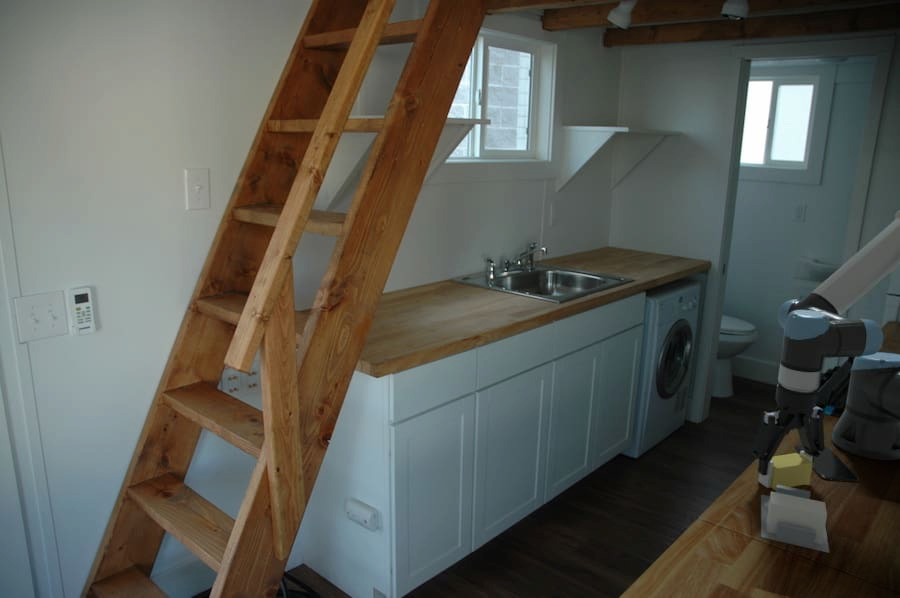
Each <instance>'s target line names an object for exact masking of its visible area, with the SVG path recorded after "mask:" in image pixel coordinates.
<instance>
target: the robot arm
mask: <svg viewBox="0 0 900 598" xmlns="http://www.w3.org/2000/svg"><path fill="white" fill-rule="evenodd" d="M899 266H900V209H899V210H897V211H896V213H895V214H894V220H893V221H892V222H891V223H890V224H888V226H886V227H885V228H884V229H882V231H880V232H879V233H878V234H877V235H876V236H875V237H874V238H873V239H871V240H870V241H868V242H867V244H865V245H864V246H863V248H860V250H858V251H857V252H856V253H855V254H854V255H853V256H851V257H850V258H849V259H848V260H847V261H846V262H845V263H844V264H843V265H842V266H840V267H839V268H838V269H837V270H836V271H834V272H833V273H832V274H831V275H830V276H828V278H827V279H825V280H824V281H823V282H822V283H820V285H818V286H817V287H816V288H815V289H814V290H813V291H811V292H810V293H809V295H807V296H806V297H804V299H796V298H795V299H790V300H786V301H785V302H784V303H782V305H780V308H778V309H779V310H778V312H777V321H778V322H777V323H778V324H779V326H780V327H781V328H782V329H783V339H782V348H781V357H780V363H779V370H778V376H777V377H778V378H777V381H778V383H777V385H776V389H775V401H776V408H775V409H774V411H773V412H767V411H763V412H762V413H761V423H760V426H759V429H758V432H757V435H756V438H755V440H754V443H753V446H752V449H751V453H750V454H751V455H752V456H753V457H754V458H756V459H757V460H758V466H757V472H758V481H757V482H759V483H760V484H761V485H763V487H766V488H767V489H769V488H771V480H772V473H773V466H774V462H773V461H771V459H772V457H773V456H775V454H776V452H777V451H778V448H779V447H780V445H781V443H782V441H783V440H784V438H785V437H786V436H787V435H789V434H790V432H791V431H793V430H797V432H798V436H799V439H800V441H801V445H803V448H804V450H805V452H804V451H800V453H799V455H801V456H802V457H804V458H805V459H807V460H809V461H811V462H813V463H814V457H819V456H820V453H819V452H818V451H821V452H822V451H824V449H825V447H826V446H825V433H824V432H825V431H824V417H825V415H826V410H825V409H823V408H821V407H819V406H817V401H818V395H819V390H818V389H819V388H820V383H821V375H822V369H823V365H824V360H825V359H829V358H830V359H831V358H851V357H852V358H853V357H854V359H853V363H852V366H851V368H850V375H849V381H848V387H847V388H848V389H847V393H846V394H847V395H846V402H845V408H844V411H843V413H841V416H840V418H839V420H838V421H837V423H836V424H835V426H834V427H833V430H832V435H831V441H832V442H833V444H834V445H836V446H837V447H838V448H840V449H842V450H843V451H846V452H847V453H850V454H853V455H855V456H859V457H863V458H866V459H871V460H876V461H898V460H900V354H899V353H891V352H881V351H880V350H881V348H882V346H883V342H884V332H883V330H882V327H881V326H880V325H879V324H878V323H877V322H876V321H874V320H872V319H869V318H868V319H866V318H861V317H860V318H856V319H852V318H848V317H846V316H843V313H845V312H846V311H847V310H848V309H849V308H850V307H851V306H853V305H854V304H855V303H857V302H858V301H859V300H860V299H861V298H862V297H863V296H864V295H866V294H867V293H868V292H869V291H871V290H872V288H874V287H875V286H876V285H877V284H878V283H880V282H881V281H882V280H884V278H885V277H887V276H888V275H889V274H890V273H891V272H893V271H894V270H895V269H896V268H897V267H899ZM812 467H813V465H812Z"/></svg>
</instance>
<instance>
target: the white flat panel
mask: <svg viewBox="0 0 900 598" xmlns="http://www.w3.org/2000/svg"><path fill="white" fill-rule="evenodd" d="M769 496H770V501H769V508H768V515H767V532H770V533H774V534H777V527H778V522H782V523H786V524H791V525H795V526H800V527H804V528H809V529H813V530H816V536H815V542H814V543H818V544H822V542H823V536H824V530H825V528H826V523H827V518H828V517H827V516H828V511H827V508H826V502H824V501H820V500H815V499H811V498H810V499H806V498H801V497H796V496H791V495H786V494H781V493H776V491H770V495H769Z"/></svg>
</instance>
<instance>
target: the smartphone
mask: <svg viewBox="0 0 900 598" xmlns="http://www.w3.org/2000/svg"><path fill="white" fill-rule="evenodd" d="M795 448H796V449H795ZM794 449H795V450H796V451H797V452H798V454H800V451H804V452H805V450H804V448H803V445H802V444H796V445H794ZM818 452H819V453H820V456H819V457H814V463H813V467H812V469H814V470H815V471H816V472H817V473H818V474H819V475H820V476H821V477H822V478H825V479H832V480H847V481H846V482H849V481H858V482H859V477H858V476H857V475H855V473H854V472H853V471H852V470H851V469H850V468H849V467H848V466H847V465H846V464H845V463H844V462H843V461H842V460H841V459H840V458H839V456H837V455H836V453H834V452H833V451H832V450H831V449H830V448H829V447H828V446H825V449H824V451H822V452H821V451H818ZM814 470H813V471H814ZM815 471H814V472H815ZM816 472H815V473H816ZM817 473H816V474H817ZM818 474H817V475H818ZM819 475H818V476H819ZM822 478H821V479H822ZM832 480H831V481H832Z"/></svg>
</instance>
